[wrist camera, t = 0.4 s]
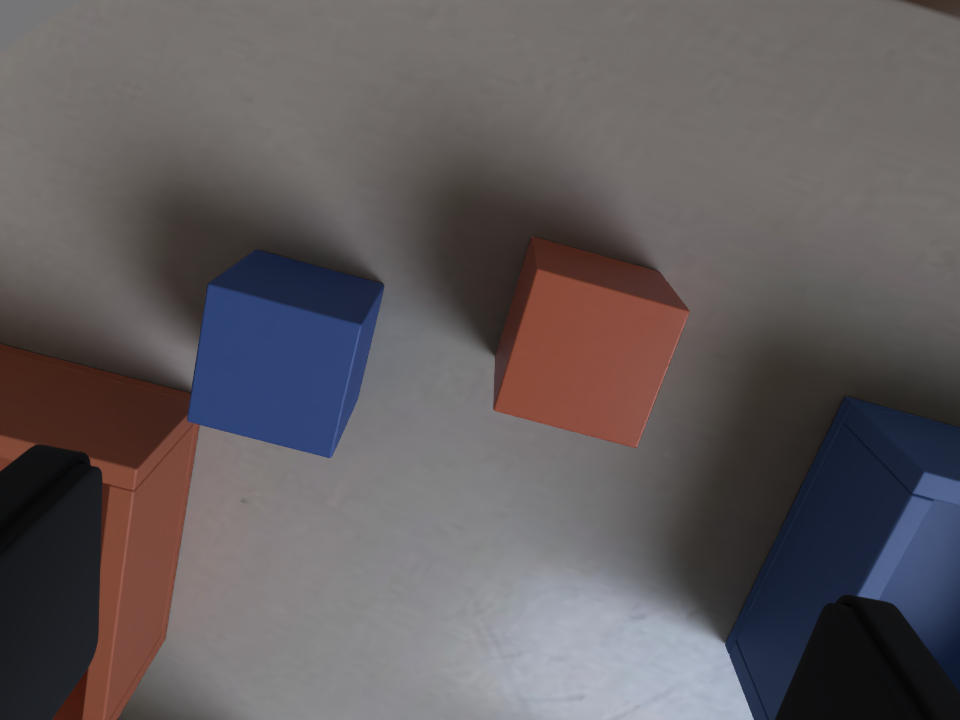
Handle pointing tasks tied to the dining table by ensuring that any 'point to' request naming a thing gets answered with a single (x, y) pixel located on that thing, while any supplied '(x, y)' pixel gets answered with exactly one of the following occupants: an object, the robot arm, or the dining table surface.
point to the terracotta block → (586, 342)
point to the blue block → (283, 351)
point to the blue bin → (859, 546)
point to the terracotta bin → (112, 501)
